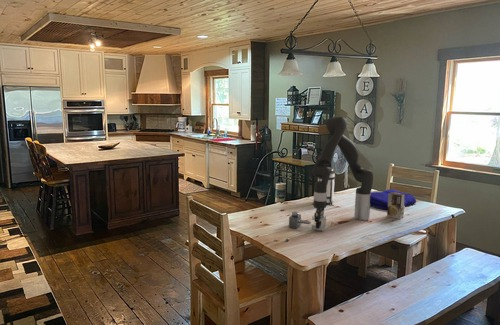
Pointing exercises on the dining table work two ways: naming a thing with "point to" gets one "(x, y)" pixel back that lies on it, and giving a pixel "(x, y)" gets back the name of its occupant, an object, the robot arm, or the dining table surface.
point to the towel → (381, 199)
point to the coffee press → (330, 186)
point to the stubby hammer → (296, 221)
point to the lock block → (322, 224)
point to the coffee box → (396, 205)
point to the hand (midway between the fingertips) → (318, 226)
